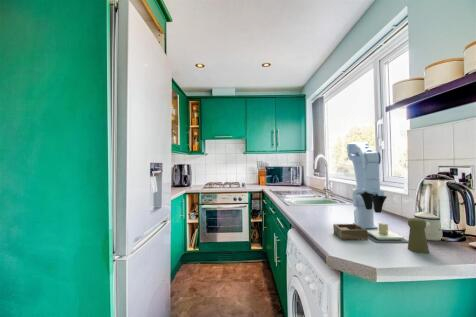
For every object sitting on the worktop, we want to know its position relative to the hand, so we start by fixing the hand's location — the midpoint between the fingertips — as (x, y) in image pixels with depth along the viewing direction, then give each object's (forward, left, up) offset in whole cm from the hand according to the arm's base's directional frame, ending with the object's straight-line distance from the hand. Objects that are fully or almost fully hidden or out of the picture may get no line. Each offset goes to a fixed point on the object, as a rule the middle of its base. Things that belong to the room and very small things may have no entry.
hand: (373, 210), depth 101 cm
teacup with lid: (+5, +19, -11) cm, 22 cm away
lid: (+4, +2, -10) cm, 11 cm away
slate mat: (+4, +2, -10) cm, 11 cm away
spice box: (+2, -11, -10) cm, 15 cm away
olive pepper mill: (+18, +6, -11) cm, 21 cm away
